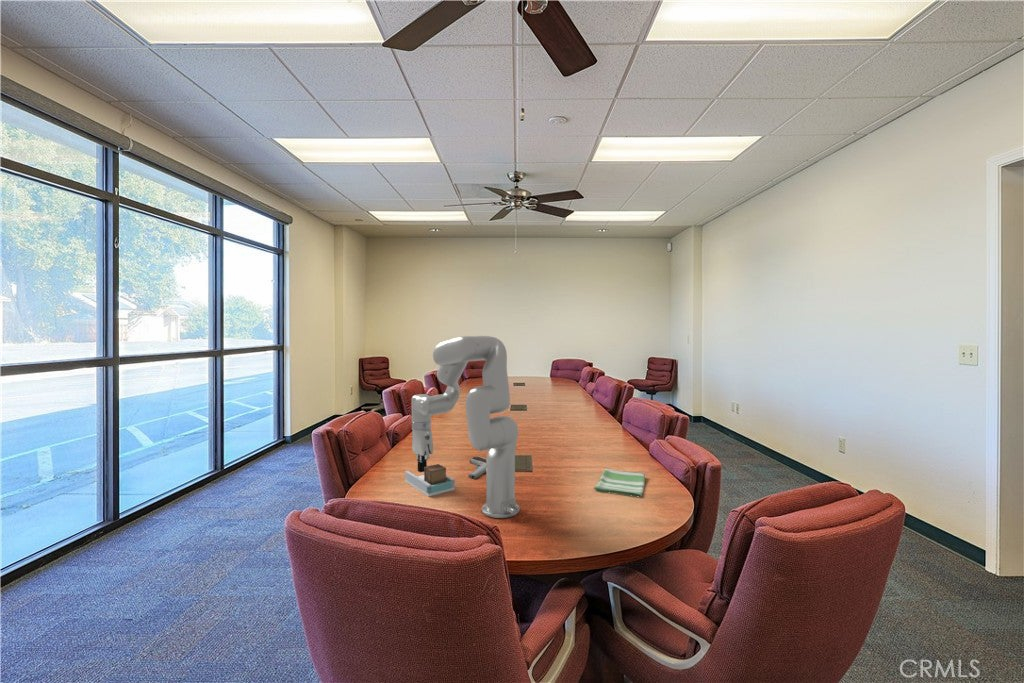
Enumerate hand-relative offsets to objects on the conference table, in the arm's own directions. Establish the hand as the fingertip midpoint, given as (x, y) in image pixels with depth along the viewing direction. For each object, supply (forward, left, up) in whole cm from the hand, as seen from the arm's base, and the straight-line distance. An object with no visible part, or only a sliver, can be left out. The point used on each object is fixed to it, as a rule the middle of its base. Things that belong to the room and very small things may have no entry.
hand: (422, 471), depth 175 cm
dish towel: (-50, -61, -5) cm, 79 cm away
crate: (-11, 0, -3) cm, 11 cm away
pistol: (0, -26, -5) cm, 26 cm away
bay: (-6, 0, -4) cm, 7 cm away
